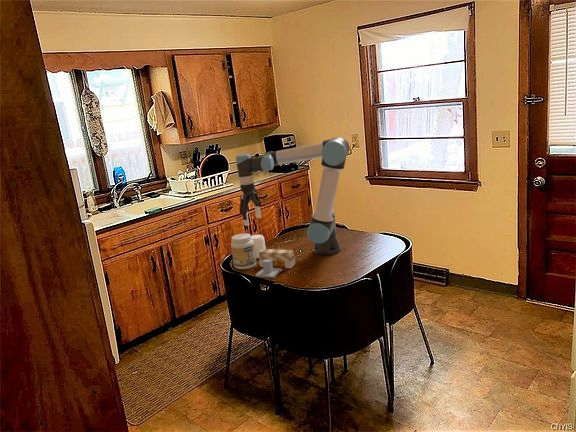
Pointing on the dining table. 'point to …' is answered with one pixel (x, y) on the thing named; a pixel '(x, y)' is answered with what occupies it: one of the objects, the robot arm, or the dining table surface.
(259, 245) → the white tapered cup
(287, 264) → the rack
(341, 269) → the dining table surface
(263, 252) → the bar
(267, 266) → the pale grey stand
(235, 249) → the supplement tub
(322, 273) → the dining table surface
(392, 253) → the dining table surface
